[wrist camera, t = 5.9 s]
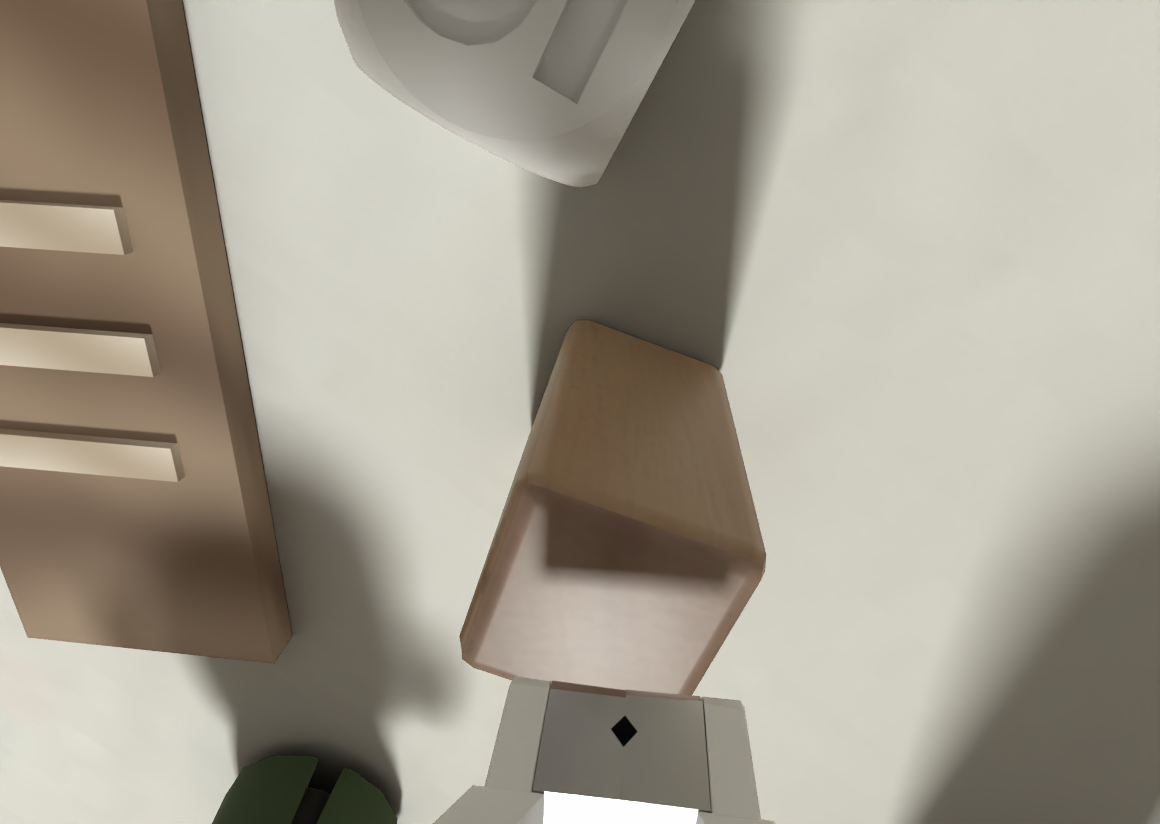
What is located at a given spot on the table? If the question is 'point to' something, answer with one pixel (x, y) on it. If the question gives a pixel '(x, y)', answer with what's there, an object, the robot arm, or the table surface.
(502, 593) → the wooden block
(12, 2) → the board
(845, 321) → the table surface
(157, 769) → the table surface
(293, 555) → the table surface
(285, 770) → the character mug
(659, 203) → the table surface
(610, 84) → the die
